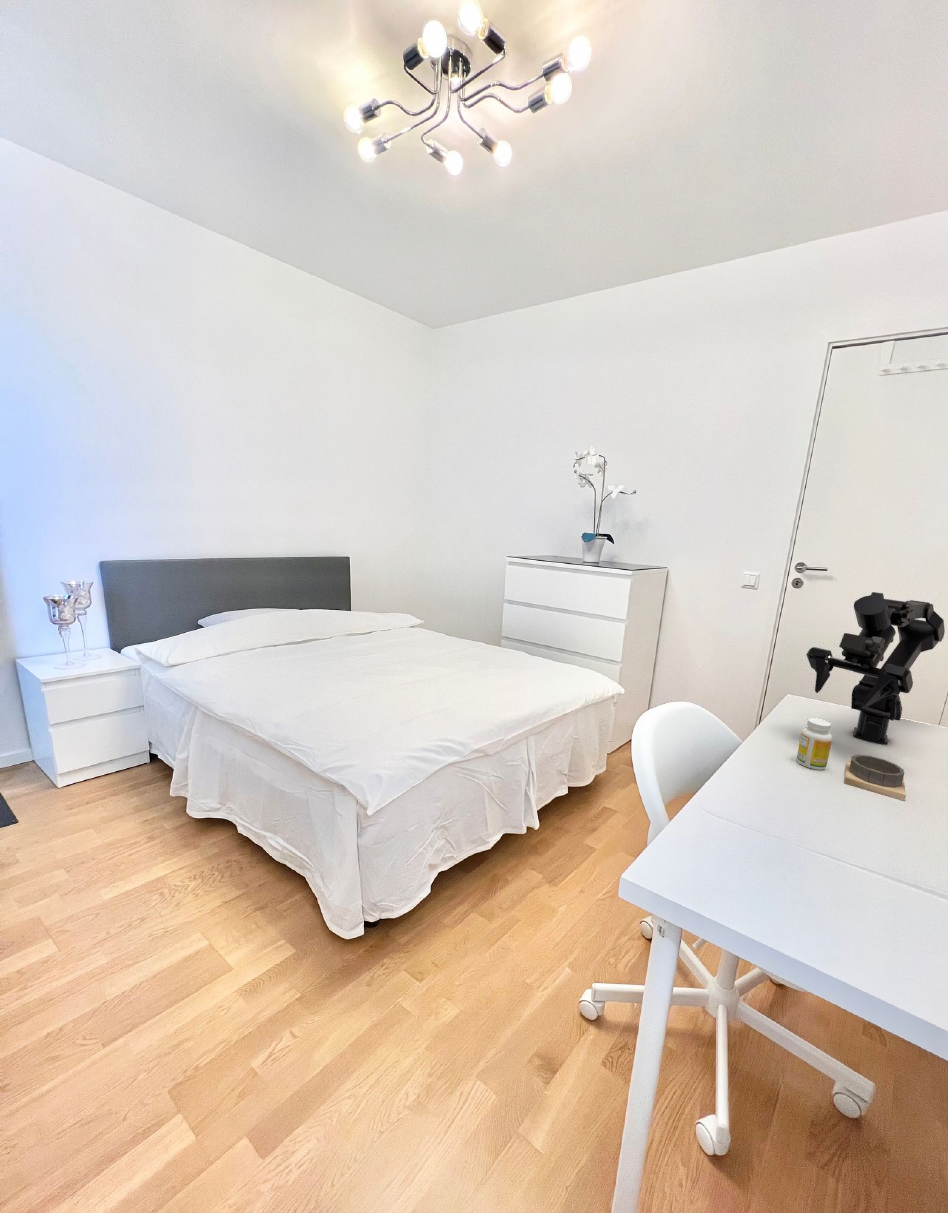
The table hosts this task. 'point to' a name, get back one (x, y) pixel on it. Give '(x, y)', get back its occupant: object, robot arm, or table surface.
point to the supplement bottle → (815, 744)
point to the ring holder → (876, 776)
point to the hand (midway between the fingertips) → (839, 698)
